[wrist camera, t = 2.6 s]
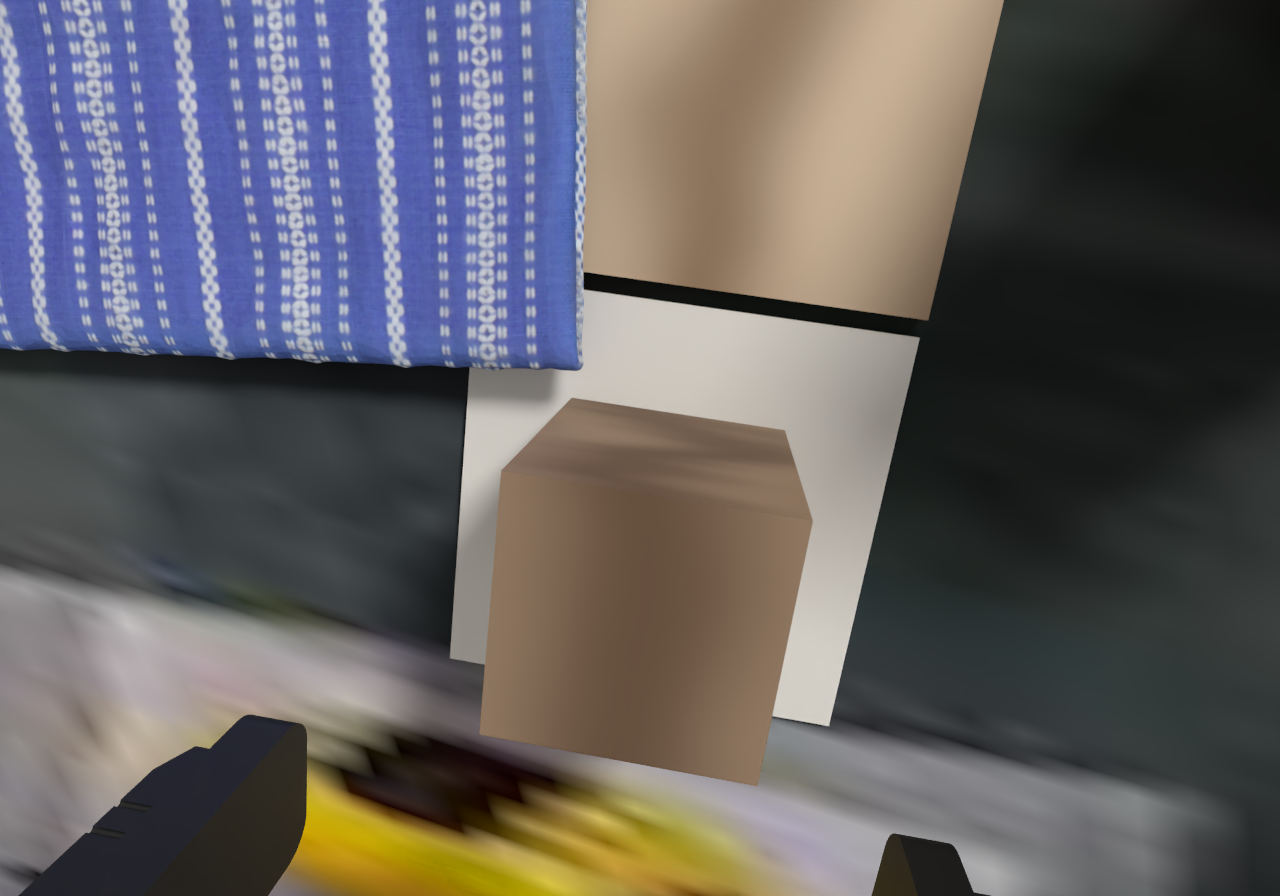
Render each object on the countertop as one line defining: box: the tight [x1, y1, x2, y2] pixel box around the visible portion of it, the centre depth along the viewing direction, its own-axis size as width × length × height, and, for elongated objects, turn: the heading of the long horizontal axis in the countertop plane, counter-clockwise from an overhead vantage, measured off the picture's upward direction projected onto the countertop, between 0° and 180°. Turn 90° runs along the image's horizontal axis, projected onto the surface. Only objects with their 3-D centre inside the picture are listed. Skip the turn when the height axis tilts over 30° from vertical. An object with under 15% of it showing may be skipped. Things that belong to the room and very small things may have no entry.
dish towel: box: [0, 0, 587, 371], centre depth 18 cm, size 17×24×3 cm
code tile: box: [450, 289, 920, 726], centre depth 22 cm, size 12×12×1 cm
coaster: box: [583, 0, 1004, 320], centre depth 18 cm, size 10×11×1 cm
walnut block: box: [479, 398, 813, 786], centre depth 19 cm, size 6×6×7 cm
